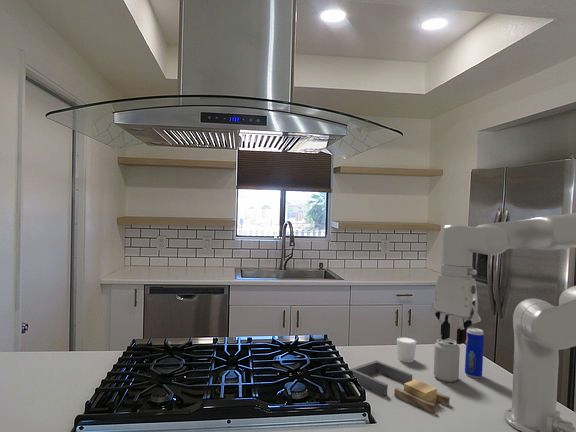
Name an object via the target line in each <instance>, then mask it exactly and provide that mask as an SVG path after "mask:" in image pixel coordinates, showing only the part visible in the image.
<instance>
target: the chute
mask: <svg viewBox="0 0 576 432" xmlns="http://www.w3.org/2000/svg"><path fill="white" fill-rule="evenodd" d="M393 394H394V396H393V397H397V398H399V399H400V400H402V401H405V402H407V403H410V404H411V405H413V406H416V407H418V408H420V409H422V410H424V411H426V412H429V413H430V414H434V413H436V404H435V403H431V402H428V401H426V400H424V399H422V398H419V397H417V396H415V395H413V394H410V393H408V392H406V391H404V389H401V388H399V387H396V388H394V393H393ZM450 399H451V398H450V396H447V395H446V394H442V393H440V392H438V391H437V397H436V402H437V401H438V403H441V404H442V405H444V404H445V405H444V406H449V405H450Z"/></svg>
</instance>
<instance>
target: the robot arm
mask: <svg viewBox="0 0 576 432" xmlns="http://www.w3.org/2000/svg"><path fill="white" fill-rule="evenodd" d="M441 237H442V238H441V254H440V255H441V257H440V258H441V260H440V274H438V276H437V279H436V283H435V287H434V288H435V290H434V296H433V297H434V298H433V303H432V304H431V305H430V308H429V311H430V312H432V313H433V314H434V315H435V317H436V318H437V320H438V323H439V324H440V339H442V340H445V339H450V338H451V322H449V321H450V316H454V317H458V318H457V319H458V328H457V329H456V340H455V341H456V343H457V345H458V346H459V345H462V344H464V343H465V344H466V335H467V329H468V328H470V327H471V326H472V325H474V324H476V323H479V322H481V321H482V318H481V316H480V315H479V314H480V313H478V309H479V304H478V301H479V300H478V291H477V290H478V289H477V282H476V279H475V278H473V276H477V273H478V271H477V269H474V268H473V257H474V256H473V255H474V254H473V253H476V254H481V255H488V256H498V255H501V254H502V253H504V252H506V251H507V250H510V249H511V250H512V249H514V250H515V249H530V250H531V249H534V250H543V251H557V250H564V249H565V250H566V249H575V248H576V212H572V213H565V214H556V215H555V214H554V215H545V216H538V217H534V218H528V219H518V220H509V221H500V222H494V223H493V222H492V223H484V224H479V225H477V226H470V225H467V224H452V223H451V224H445V225H444V226H443V228H442V234H441ZM470 317H472V318H470ZM469 318H470V319H469ZM512 326H513V336H514V337H513V338H514V339H513V340H514V349H513V352H514V353H513V369H512V371H513V373H512V395H511V408H507V409H506V410H505V411H504V415H503V416H504V417H503V418H504V420H505V422H506V423H508V424H509V426H511V427H513V428H514V429H516V430H518V431H519V432H576V426H574V422H571V421H568V420H565V419H563V418H562V417H561V411H559V410H557V404H558V403H557V402H558V401H557V400H558V397H557V396H558V380H559V379H558V377H559V365H560V364H559V363H560V362H559V361H560V356H559V350H560V351H561V350H566V349H569V348H573V347H576V285H574V286H573V285H572V286H571V287H567V289H565V290H563V292H562V293H560V295H559V299H558V305H553V304H551V303H549V302H547V301H546V300H543V299H539V298H526V299H524V300H522V301H520V302H519V303H518V304H517V305H516V307H515V308H514V311H513V315H512Z"/></svg>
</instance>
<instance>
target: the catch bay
mask: <svg viewBox="0 0 576 432" xmlns="http://www.w3.org/2000/svg"><path fill="white" fill-rule="evenodd" d="M349 370H351V371H352V372H353V375H354V377H356V378H357V379H358V382H359V385H360V386H363V387H365V388H366V389H370V390H371V391H374V392H376V393H377V394H379V395H382V396H384V397H385V396H387V395H388V389H389V388H388V386H389V385H388V383H385V382H383V381H381V380H379V379H376V378H374V377H372V376H370V375H371V374H373V373H376V372H378V373H379V374H382V375H385V376H387V377H389V378H392V379H393V380H396V381H399V382H401V383H403V384H404V383H407V382H410V381H413V374H412V373H409V372H407V371H405V370H402V369H399V368H397V367H396V366H395V367H394V366H392V365H390V364H388V363H384V362H382V361H379V360H373V361H370V362H367V363H365V364H362V365H359V366H355V367H352V368H349V369H348V371H349Z"/></svg>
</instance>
